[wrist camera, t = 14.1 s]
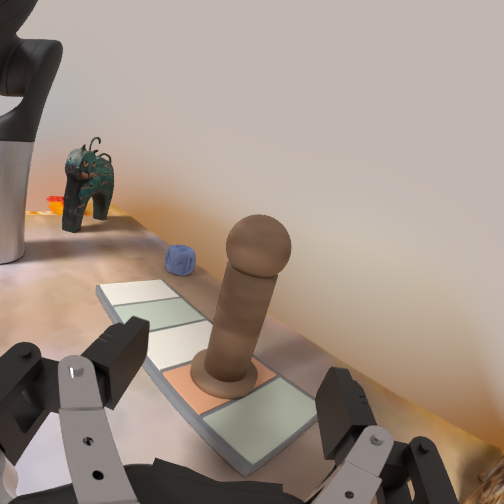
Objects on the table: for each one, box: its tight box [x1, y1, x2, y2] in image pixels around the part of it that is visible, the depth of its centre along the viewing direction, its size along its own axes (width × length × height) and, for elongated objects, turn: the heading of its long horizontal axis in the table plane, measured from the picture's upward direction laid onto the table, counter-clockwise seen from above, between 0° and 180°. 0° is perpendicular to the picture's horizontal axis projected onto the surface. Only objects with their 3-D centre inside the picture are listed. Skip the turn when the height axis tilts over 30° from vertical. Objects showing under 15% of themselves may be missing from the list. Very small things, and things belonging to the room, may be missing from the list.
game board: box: [96, 280, 318, 478], centre depth 25 cm, size 27×10×1 cm, turn 46°
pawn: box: [190, 215, 291, 400], centre depth 20 cm, size 6×6×14 cm
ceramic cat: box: [62, 137, 114, 233], centre depth 52 cm, size 20×6×20 cm, turn 2°
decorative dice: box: [165, 245, 196, 276], centre depth 45 cm, size 4×4×4 cm
